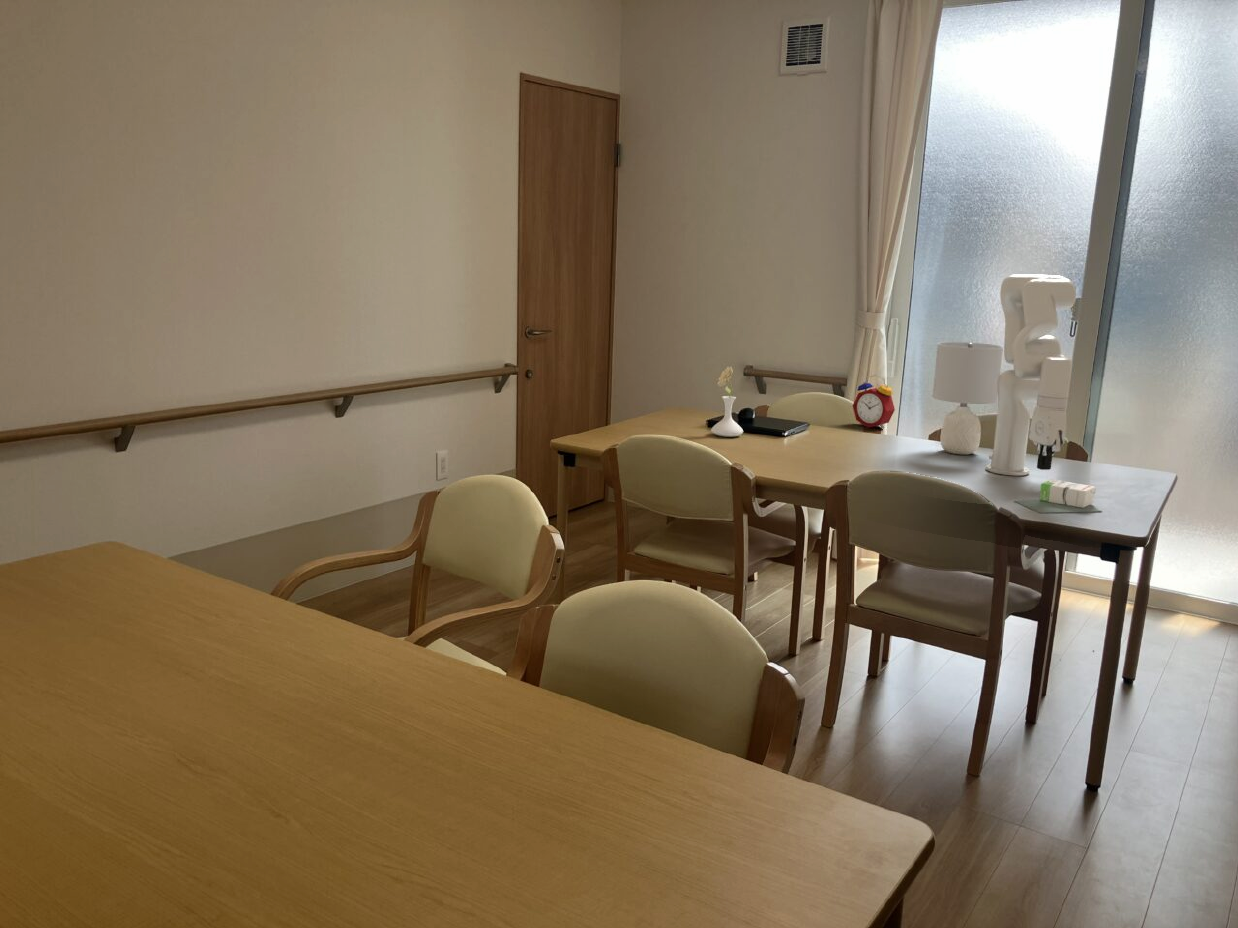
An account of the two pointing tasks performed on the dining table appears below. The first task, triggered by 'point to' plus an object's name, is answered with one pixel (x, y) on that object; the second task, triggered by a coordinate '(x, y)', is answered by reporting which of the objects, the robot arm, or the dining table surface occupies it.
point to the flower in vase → (727, 410)
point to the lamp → (965, 389)
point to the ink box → (1067, 493)
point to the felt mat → (1053, 507)
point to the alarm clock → (873, 405)
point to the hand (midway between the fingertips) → (1043, 468)
